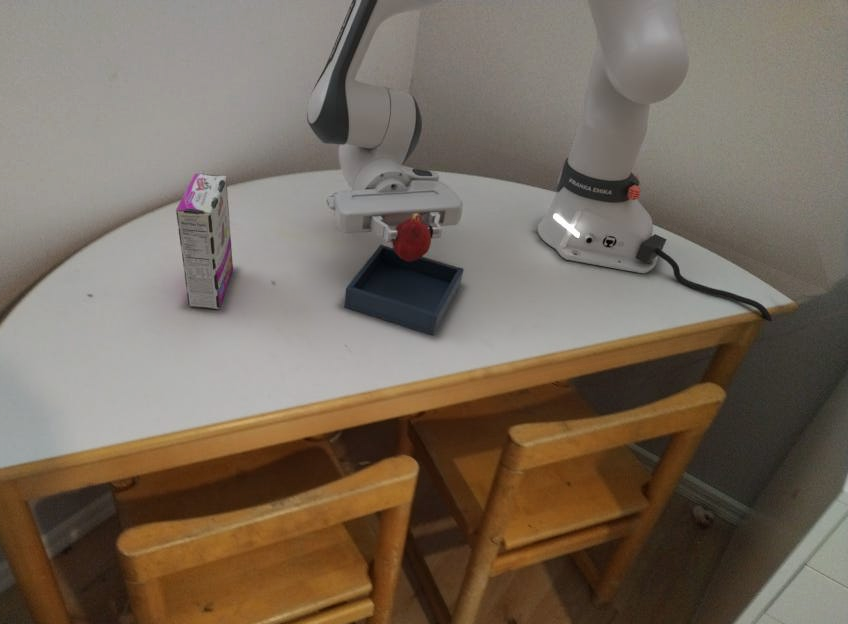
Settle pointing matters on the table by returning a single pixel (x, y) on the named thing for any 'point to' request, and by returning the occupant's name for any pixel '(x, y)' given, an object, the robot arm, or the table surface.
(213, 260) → the candy bar box
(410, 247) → the onion
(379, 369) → the table surface
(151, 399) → the table surface
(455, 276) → the tray
